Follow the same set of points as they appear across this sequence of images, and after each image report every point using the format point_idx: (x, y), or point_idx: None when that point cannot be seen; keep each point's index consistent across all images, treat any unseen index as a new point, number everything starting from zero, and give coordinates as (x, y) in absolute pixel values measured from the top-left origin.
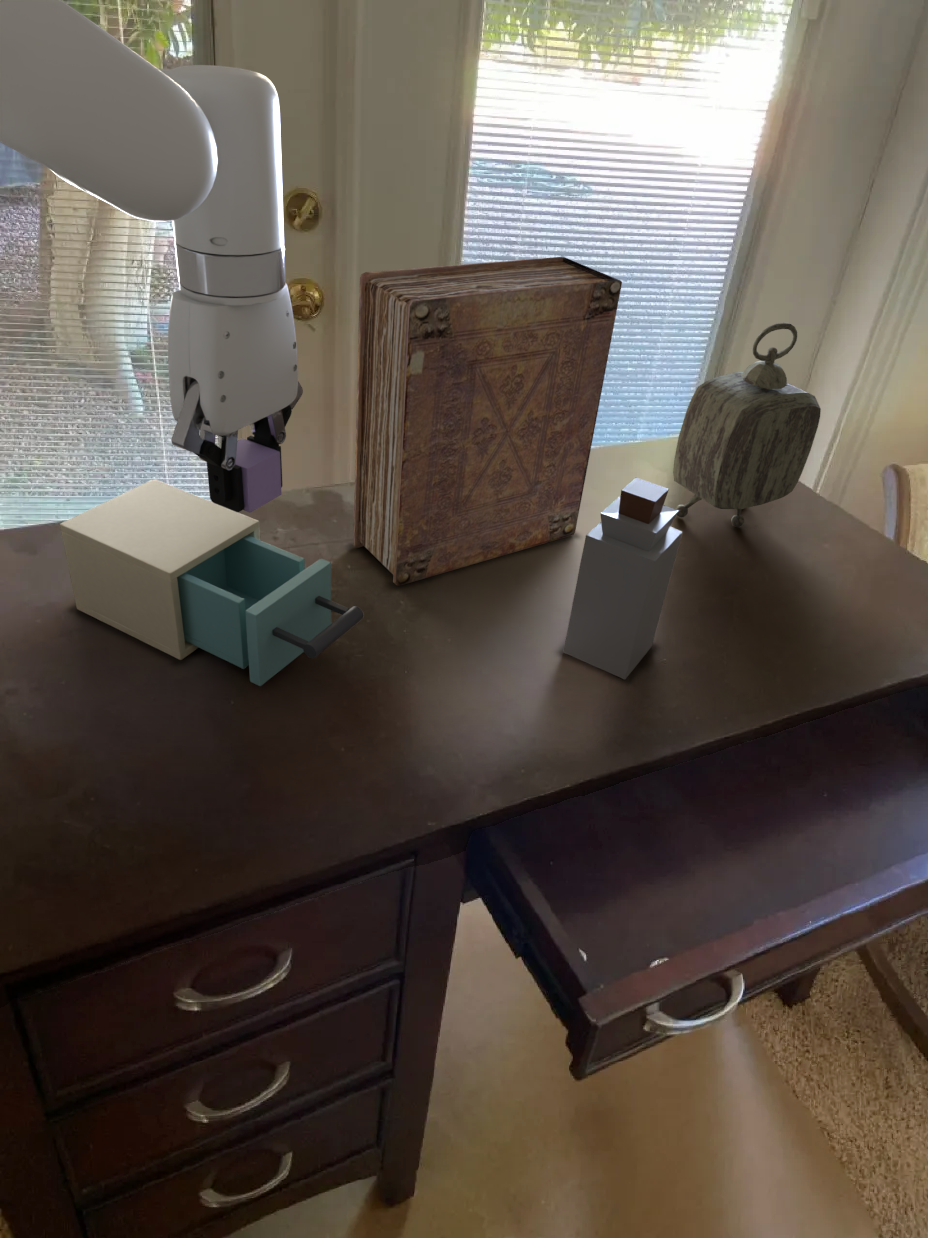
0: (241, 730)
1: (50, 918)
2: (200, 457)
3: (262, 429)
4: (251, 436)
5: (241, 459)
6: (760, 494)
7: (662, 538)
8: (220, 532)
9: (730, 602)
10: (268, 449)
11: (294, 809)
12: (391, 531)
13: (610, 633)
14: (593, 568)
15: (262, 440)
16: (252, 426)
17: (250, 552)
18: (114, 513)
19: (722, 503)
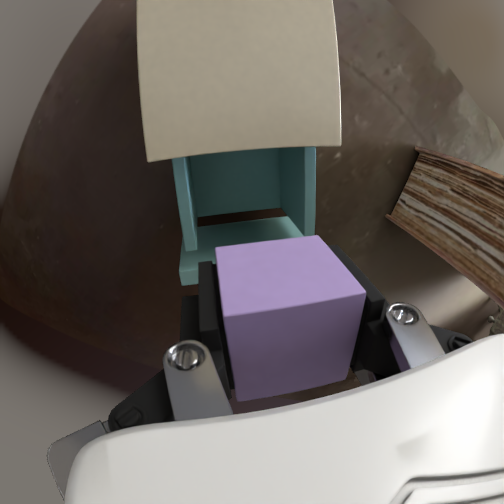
0: (145, 257)
1: (6, 290)
2: (151, 380)
3: (389, 352)
4: (380, 305)
5: (262, 374)
6: None
7: None
8: (280, 125)
9: None
10: (341, 366)
11: (130, 329)
12: (424, 218)
13: (367, 379)
14: None
15: (364, 347)
16: (389, 338)
17: (298, 150)
18: None
19: (490, 334)
